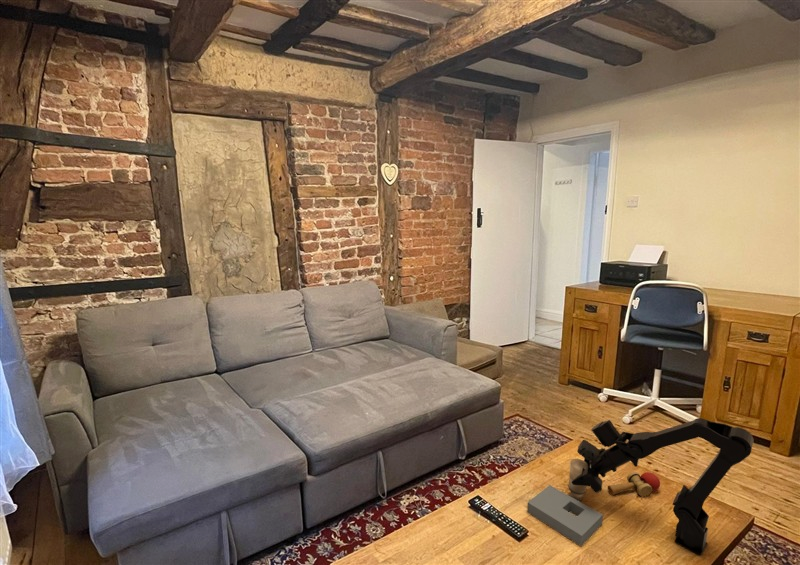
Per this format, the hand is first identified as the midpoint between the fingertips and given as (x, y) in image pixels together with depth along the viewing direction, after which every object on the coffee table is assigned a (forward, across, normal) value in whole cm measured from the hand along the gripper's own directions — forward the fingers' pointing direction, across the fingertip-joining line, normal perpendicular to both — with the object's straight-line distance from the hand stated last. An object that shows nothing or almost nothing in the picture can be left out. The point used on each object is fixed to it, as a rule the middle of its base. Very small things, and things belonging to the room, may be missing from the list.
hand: (573, 478), depth 141 cm
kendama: (-8, -12, +18) cm, 23 cm away
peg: (+4, 0, +6) cm, 7 cm away
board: (+5, +12, +4) cm, 14 cm away
